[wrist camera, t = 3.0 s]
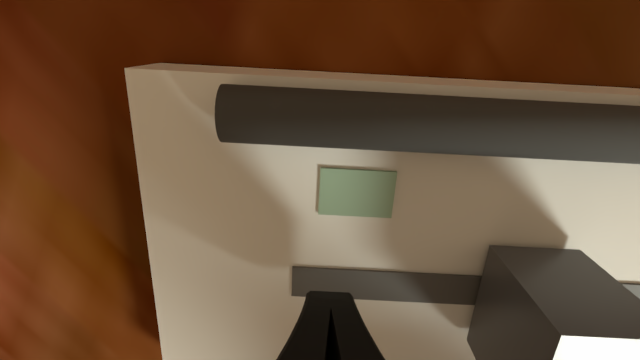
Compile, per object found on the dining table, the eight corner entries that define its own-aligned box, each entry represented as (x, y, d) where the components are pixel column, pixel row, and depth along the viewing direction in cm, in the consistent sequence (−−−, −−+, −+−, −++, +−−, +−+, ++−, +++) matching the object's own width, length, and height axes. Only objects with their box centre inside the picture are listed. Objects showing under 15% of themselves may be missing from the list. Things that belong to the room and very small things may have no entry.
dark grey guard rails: (713, 436, 16) (753, 477, 14) (240, 413, 16) (231, 453, 14) (910, 116, 11) (1004, 129, 9) (228, 80, 11) (213, 87, 9)
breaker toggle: (547, 343, 14) (631, 457, 10) (466, 339, 14) (519, 452, 10) (579, 249, 12) (691, 341, 9) (489, 244, 12) (561, 335, 9)
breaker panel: (722, 390, 18) (783, 445, 16) (189, 364, 18) (168, 415, 16) (894, 101, 13) (1022, 116, 11) (160, 62, 13) (122, 68, 11)
